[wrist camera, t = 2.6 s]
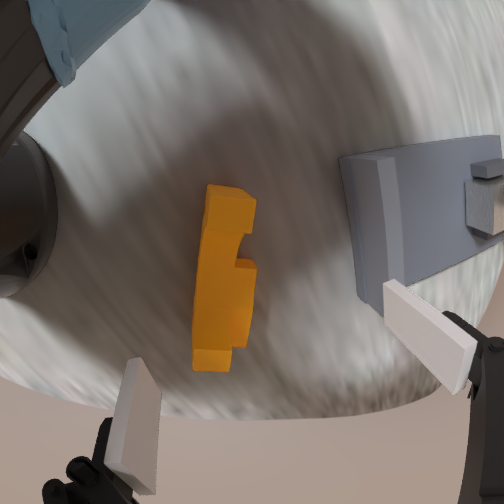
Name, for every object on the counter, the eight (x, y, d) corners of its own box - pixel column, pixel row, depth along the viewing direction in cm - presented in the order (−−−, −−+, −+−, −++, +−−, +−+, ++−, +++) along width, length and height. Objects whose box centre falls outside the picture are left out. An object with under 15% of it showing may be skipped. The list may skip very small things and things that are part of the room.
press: (357, 295, 28) (386, 324, 23) (338, 158, 23) (373, 161, 18) (494, 236, 30) (525, 249, 24) (490, 134, 25) (525, 138, 20)
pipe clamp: (240, 326, 27) (253, 372, 21) (192, 323, 26) (192, 370, 20) (263, 191, 23) (286, 205, 17) (207, 183, 22) (211, 194, 16)
